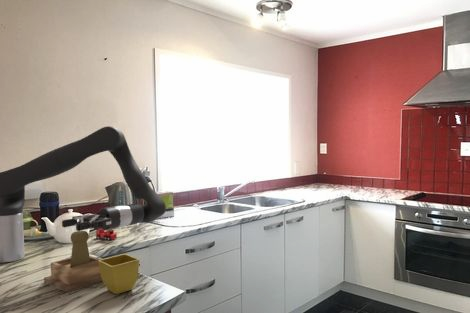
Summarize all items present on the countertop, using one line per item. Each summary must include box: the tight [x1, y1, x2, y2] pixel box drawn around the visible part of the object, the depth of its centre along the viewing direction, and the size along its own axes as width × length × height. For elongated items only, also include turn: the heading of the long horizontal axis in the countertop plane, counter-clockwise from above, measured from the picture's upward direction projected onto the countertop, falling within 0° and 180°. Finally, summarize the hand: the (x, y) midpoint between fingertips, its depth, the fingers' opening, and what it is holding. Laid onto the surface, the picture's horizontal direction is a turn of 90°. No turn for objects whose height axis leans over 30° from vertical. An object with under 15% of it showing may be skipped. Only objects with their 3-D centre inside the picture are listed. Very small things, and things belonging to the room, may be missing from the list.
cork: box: [70, 230, 91, 268], centre depth 115 cm, size 6×6×11 cm
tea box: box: [142, 190, 175, 220], centre depth 217 cm, size 15×10×15 cm
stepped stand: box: [43, 255, 103, 294], centre depth 116 cm, size 14×14×6 cm
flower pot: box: [98, 253, 140, 295], centre depth 107 cm, size 9×9×9 cm
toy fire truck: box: [95, 229, 118, 241], centre depth 167 cm, size 3×14×10 cm, turn 65°
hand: (69, 225), depth 114 cm, fingers open, 8 cm apart
